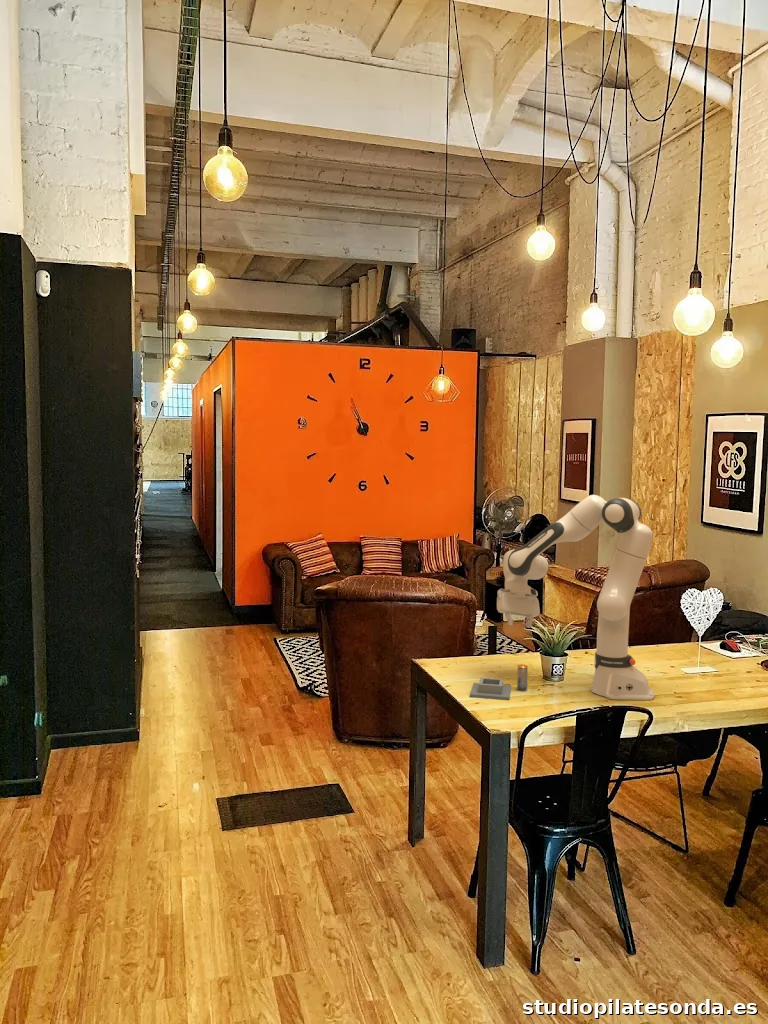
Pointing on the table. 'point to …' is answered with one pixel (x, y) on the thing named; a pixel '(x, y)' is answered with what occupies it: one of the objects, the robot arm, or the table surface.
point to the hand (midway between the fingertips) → (520, 626)
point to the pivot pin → (522, 677)
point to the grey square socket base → (491, 689)
